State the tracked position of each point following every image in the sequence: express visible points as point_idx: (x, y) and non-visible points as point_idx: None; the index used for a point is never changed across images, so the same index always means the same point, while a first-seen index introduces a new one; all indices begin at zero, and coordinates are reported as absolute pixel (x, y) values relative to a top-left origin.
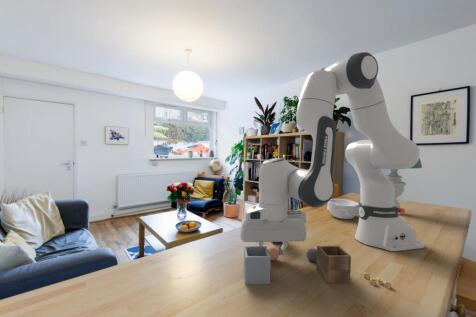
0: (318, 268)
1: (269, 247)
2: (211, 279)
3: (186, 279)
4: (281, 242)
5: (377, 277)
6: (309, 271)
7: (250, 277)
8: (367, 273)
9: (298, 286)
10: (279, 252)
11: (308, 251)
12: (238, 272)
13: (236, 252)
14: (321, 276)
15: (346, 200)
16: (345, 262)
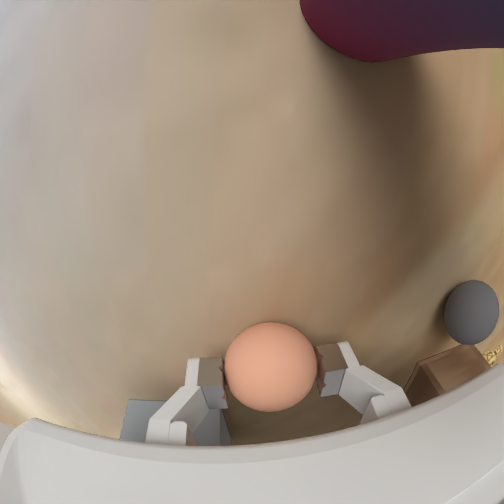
0: (420, 387)
1: (249, 391)
2: (60, 408)
3: (16, 395)
4: (388, 59)
5: (500, 350)
6: (395, 369)
7: None
8: (494, 360)
9: (316, 430)
10: (317, 371)
11: (465, 333)
12: (111, 398)
13: (31, 236)
14: (406, 393)
15: None
16: None
